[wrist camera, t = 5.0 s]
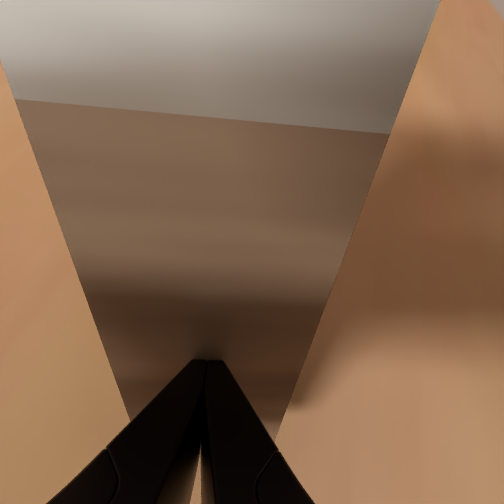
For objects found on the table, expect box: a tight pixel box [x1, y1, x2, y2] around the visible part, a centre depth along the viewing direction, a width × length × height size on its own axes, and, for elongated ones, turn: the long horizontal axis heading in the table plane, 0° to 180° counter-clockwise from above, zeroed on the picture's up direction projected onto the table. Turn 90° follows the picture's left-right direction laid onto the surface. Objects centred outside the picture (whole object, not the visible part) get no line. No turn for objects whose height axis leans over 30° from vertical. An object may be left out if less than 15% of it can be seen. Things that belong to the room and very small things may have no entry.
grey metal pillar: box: [0, 0, 440, 455], centre depth 10 cm, size 5×5×15 cm
